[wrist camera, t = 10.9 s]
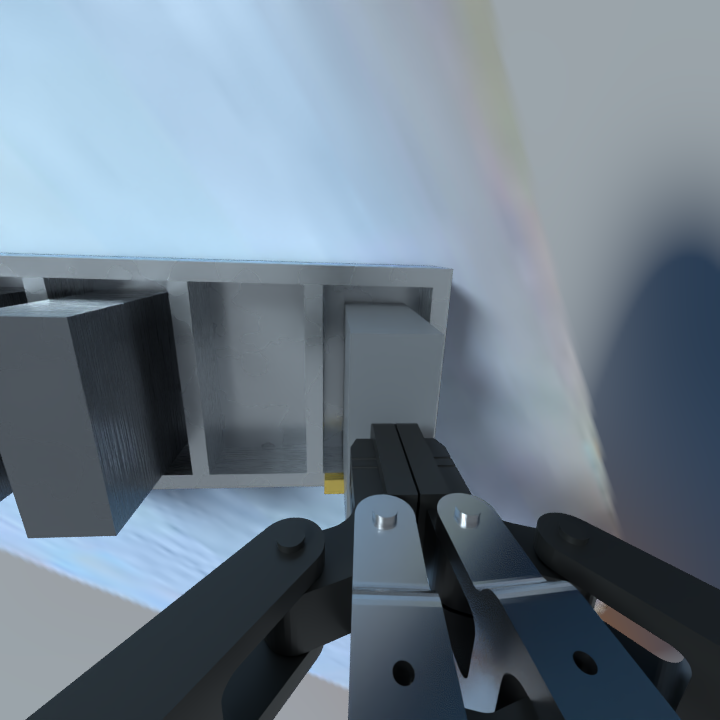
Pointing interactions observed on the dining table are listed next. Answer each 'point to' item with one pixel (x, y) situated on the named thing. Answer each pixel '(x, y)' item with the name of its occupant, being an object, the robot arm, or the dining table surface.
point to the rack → (177, 377)
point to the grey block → (387, 372)
